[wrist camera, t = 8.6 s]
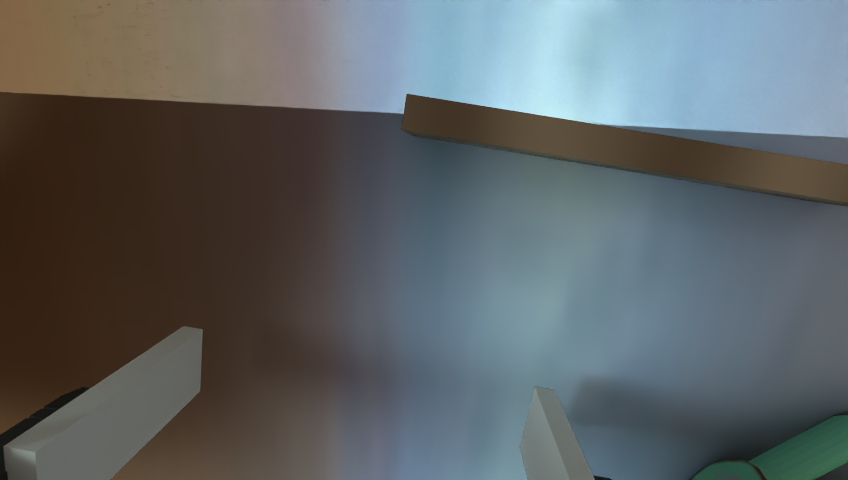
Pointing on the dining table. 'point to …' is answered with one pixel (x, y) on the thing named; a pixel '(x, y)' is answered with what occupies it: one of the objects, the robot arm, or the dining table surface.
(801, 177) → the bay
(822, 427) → the mug
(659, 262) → the dining table surface
